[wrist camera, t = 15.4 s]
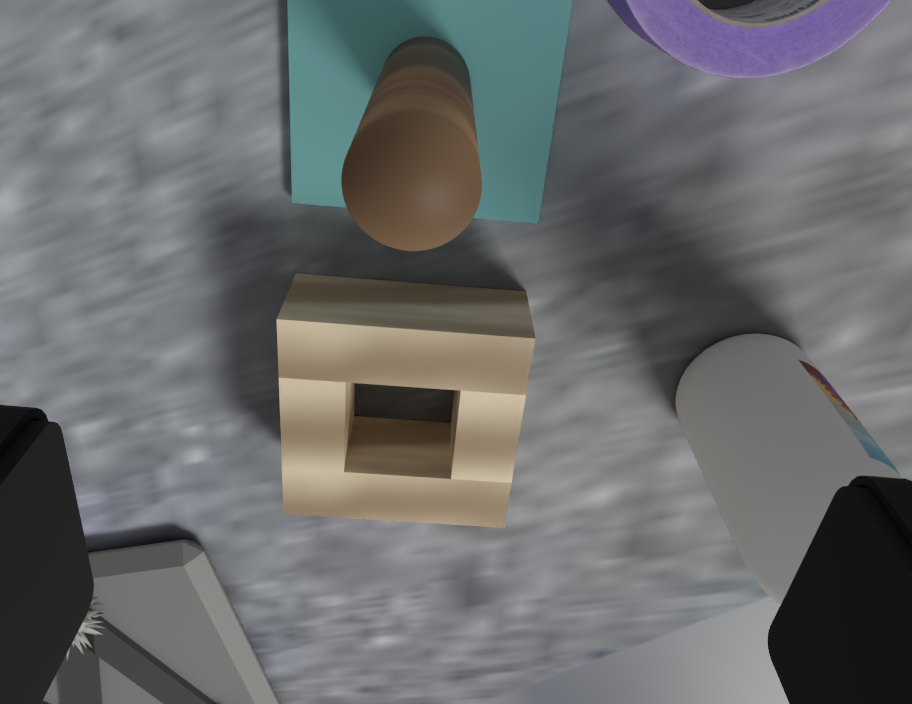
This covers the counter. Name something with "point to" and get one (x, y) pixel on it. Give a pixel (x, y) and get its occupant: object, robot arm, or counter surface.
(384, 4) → the teal mat
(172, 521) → the counter surface
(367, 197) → the walnut peg
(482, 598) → the counter surface
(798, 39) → the tape roll
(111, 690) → the decorative plate
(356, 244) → the counter surface
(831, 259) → the counter surface
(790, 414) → the milk bottle
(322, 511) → the eye block
